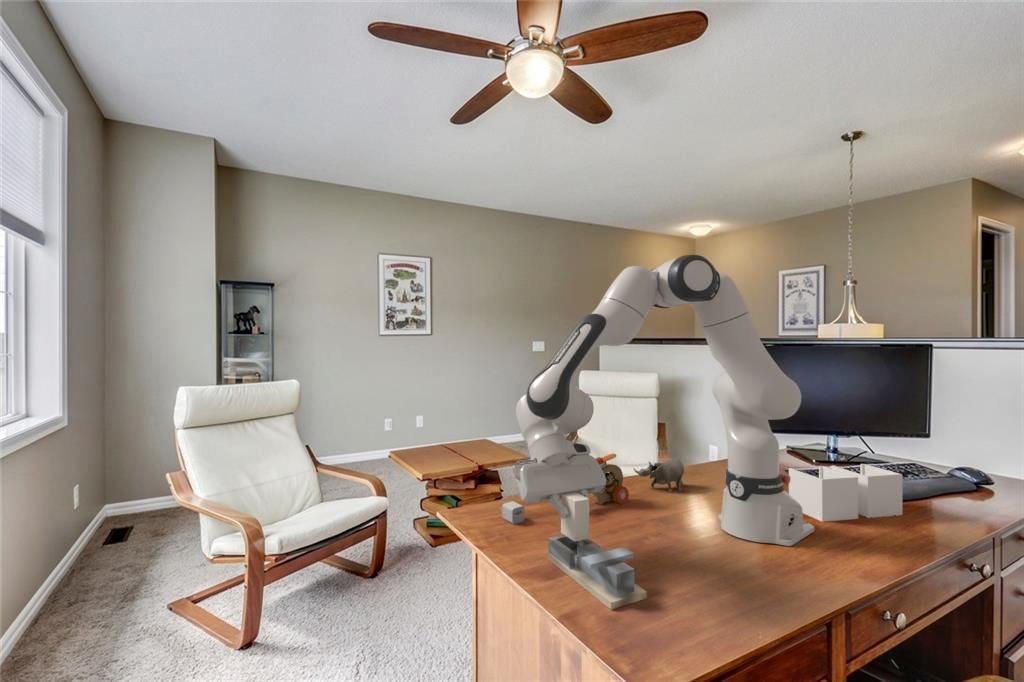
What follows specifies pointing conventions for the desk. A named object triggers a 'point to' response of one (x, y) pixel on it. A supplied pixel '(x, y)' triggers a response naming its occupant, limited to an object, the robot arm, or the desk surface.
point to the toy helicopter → (611, 482)
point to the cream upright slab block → (575, 516)
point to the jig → (597, 570)
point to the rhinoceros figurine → (665, 473)
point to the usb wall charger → (513, 512)
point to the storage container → (847, 493)
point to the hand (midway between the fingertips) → (576, 515)
